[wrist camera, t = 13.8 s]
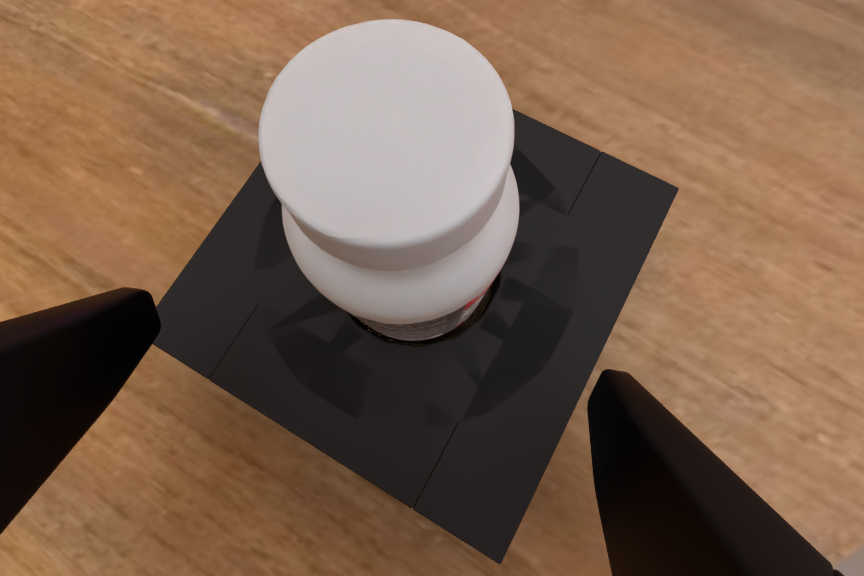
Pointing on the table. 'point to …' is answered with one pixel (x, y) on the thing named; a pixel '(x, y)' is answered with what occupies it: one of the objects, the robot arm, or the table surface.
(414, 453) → the socket pad
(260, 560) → the table surface
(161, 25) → the table surface
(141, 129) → the table surface
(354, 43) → the pill bottle
